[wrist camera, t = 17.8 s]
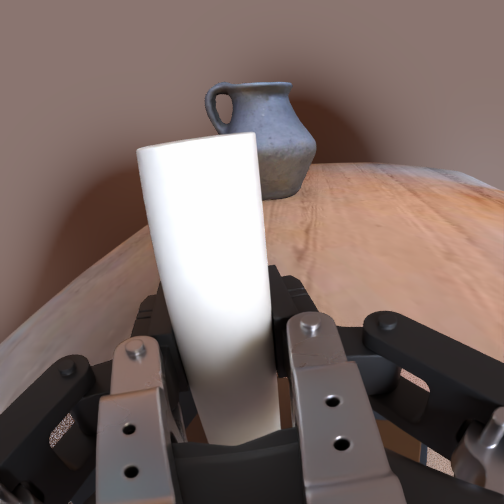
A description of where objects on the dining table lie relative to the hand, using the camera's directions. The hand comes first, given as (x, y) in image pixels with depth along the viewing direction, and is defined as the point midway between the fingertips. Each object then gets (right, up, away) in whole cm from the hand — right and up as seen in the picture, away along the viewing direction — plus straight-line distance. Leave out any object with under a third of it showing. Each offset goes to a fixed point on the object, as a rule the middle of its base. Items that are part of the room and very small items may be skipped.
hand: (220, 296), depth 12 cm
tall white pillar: (+1, -9, 0) cm, 9 cm away
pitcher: (+4, +13, +57) cm, 58 cm away
